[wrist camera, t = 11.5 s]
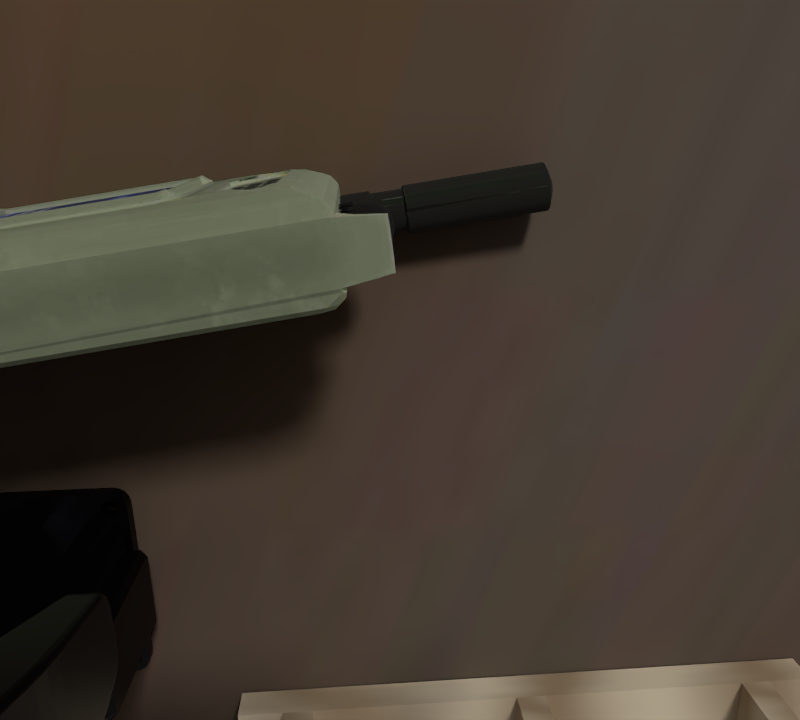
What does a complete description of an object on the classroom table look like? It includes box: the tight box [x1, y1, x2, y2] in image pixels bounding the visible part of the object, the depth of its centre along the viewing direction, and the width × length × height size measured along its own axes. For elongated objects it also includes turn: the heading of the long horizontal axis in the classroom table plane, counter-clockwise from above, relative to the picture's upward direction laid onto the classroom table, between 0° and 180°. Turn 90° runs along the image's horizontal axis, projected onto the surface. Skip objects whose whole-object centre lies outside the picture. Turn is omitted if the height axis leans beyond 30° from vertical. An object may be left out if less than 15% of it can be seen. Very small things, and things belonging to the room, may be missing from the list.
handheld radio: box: [0, 163, 553, 368], centre depth 16 cm, size 7×3×25 cm
